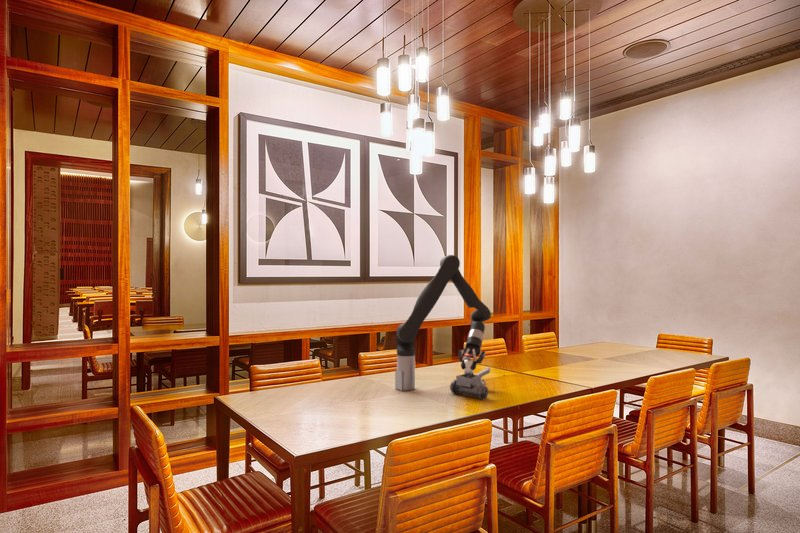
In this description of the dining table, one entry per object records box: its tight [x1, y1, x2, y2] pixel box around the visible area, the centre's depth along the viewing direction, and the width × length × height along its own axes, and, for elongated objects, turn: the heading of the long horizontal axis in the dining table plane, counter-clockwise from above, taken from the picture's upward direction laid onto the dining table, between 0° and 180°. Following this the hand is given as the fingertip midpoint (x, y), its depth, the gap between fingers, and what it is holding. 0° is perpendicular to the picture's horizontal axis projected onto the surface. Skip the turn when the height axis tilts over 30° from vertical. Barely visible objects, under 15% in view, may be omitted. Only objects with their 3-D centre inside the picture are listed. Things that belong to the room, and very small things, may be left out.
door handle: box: [474, 366, 491, 386], centre depth 257 cm, size 18×8×20 cm
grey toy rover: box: [449, 373, 489, 401], centre depth 237 cm, size 18×8×10 cm, turn 43°
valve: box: [463, 353, 475, 378], centre depth 238 cm, size 4×4×12 cm
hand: (467, 368), depth 236 cm, fingers closed on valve, 4 cm apart
